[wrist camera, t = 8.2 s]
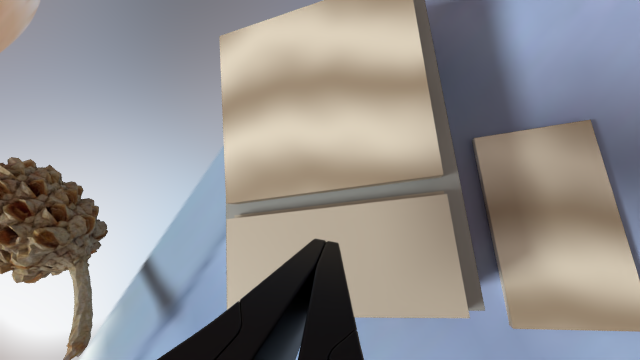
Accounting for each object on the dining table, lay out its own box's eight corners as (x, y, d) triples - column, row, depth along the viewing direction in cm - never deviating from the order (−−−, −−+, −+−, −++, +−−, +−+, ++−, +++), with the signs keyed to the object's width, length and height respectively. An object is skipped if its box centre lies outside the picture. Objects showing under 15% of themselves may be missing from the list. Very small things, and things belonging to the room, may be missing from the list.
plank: (638, 324, 16) (655, 331, 15) (506, 322, 18) (513, 328, 17) (579, 126, 19) (590, 119, 18) (470, 143, 21) (474, 138, 20)
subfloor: (464, 289, 19) (492, 318, 13) (263, 293, 23) (214, 316, 17) (416, 26, 23) (420, -45, 17) (255, 72, 28) (214, 29, 22)
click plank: (440, 177, 16) (443, 174, 15) (236, 204, 20) (226, 203, 18) (407, -14, 18) (408, -29, 17) (229, 45, 22) (219, 36, 21)
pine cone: (46, 209, 34) (-88, 202, 25) (92, 154, 33) (-30, 125, 24) (117, 361, 27) (-36, 432, 17) (178, 295, 26) (50, 332, 17)
